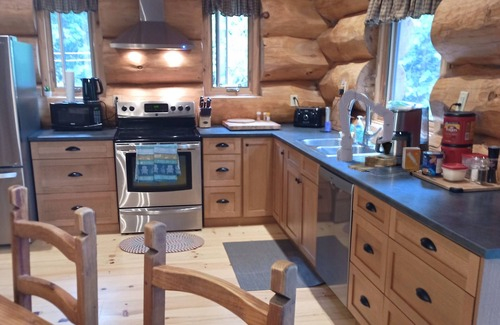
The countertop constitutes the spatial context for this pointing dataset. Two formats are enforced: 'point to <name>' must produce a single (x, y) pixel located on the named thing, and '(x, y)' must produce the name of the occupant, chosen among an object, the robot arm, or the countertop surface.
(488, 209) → the countertop surface
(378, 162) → the puzzle board
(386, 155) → the lid
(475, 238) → the countertop surface
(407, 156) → the small box
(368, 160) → the walnut block
